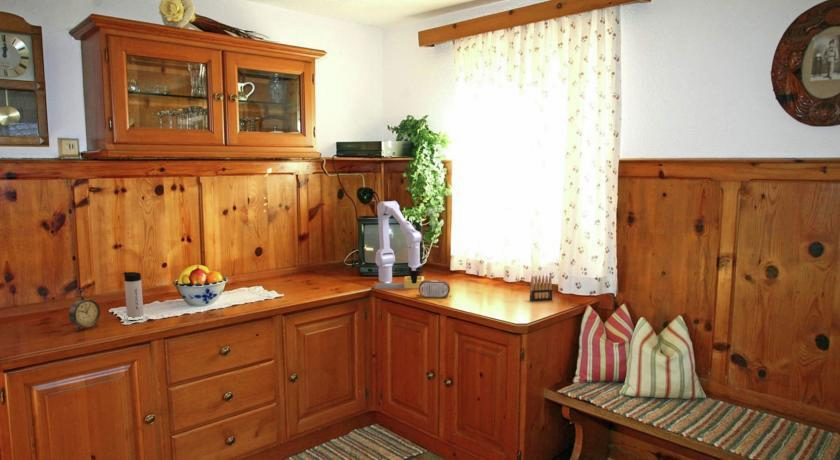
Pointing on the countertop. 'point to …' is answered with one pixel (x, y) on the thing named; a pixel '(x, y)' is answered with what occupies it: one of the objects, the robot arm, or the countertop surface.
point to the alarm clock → (84, 312)
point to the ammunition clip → (541, 289)
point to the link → (409, 283)
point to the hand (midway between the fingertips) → (414, 282)
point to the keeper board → (391, 286)
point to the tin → (434, 288)
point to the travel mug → (133, 294)
